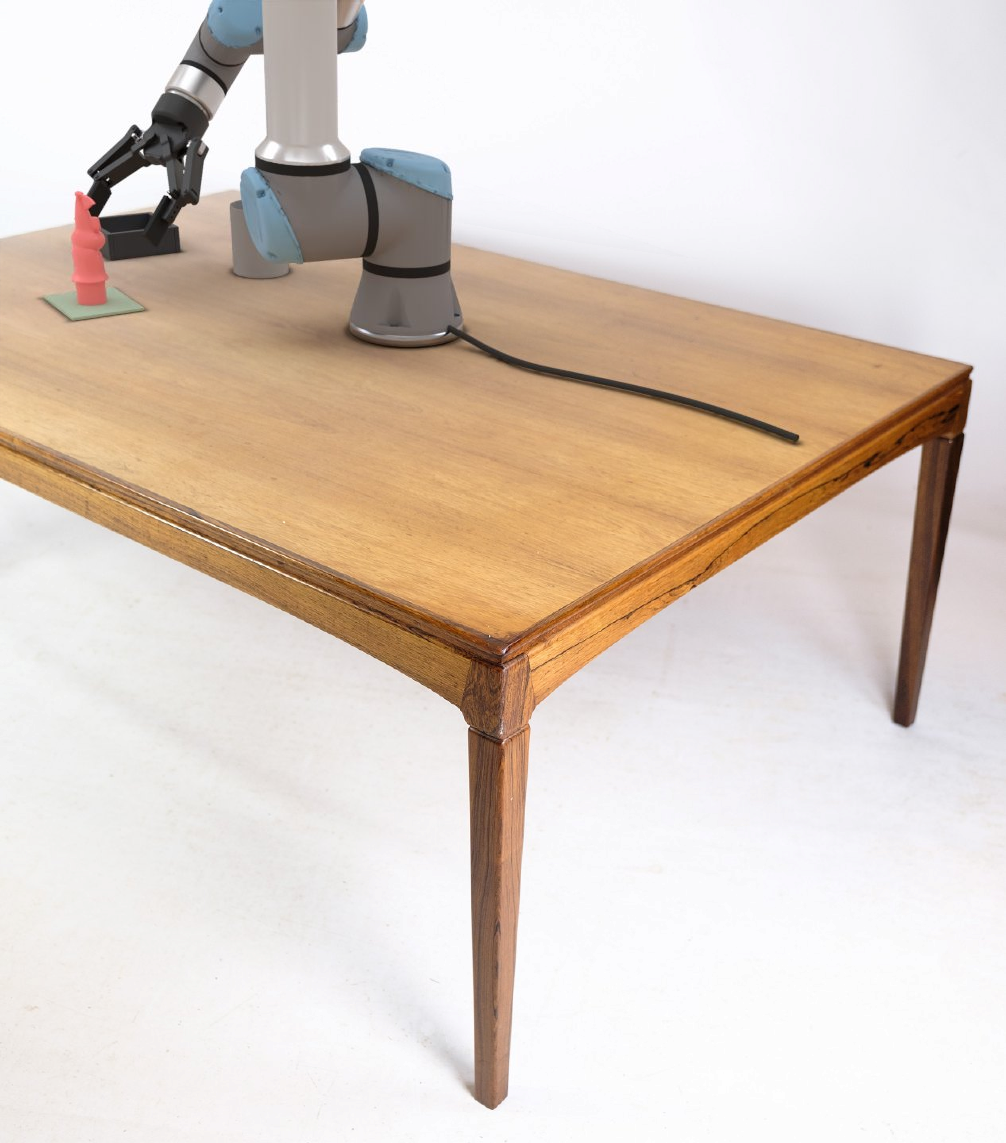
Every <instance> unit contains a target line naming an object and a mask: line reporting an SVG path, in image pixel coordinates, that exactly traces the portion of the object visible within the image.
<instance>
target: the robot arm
mask: <svg viewBox="0 0 1006 1143" xmlns="http://www.w3.org/2000/svg"><path fill="white" fill-rule="evenodd" d="M368 31H369V21H368V14H367V8H366V6H365V0H212V1H211V2H210V4H209V6H208V8H207V13H206V15H205V16H204V20H203V21H202V22H201V24H200V26H199V28H198V30H197V32H196V33H195V35H194V37H193V40H192V41H191V43H190V44H189V46H188V49H187V50H186V52H185V53H184V55H183V58H182V59H181V61H180V63H179V64H178V66H177V67H176V69H175V70H174V72H173V74H172V75H171V77H170V78H169V80H168V82H167V83H166V85H165V87H164V92H163V93H161V95H160V97H158V99H157V101H156V103H155V105H154V107H153V108H152V110H151V112H150V117H151V125H150V126H149V127H148V128H147V129H146V130H144V129H141V128H140V127H139V126H138V125H137V124H132V125H131V126H130V127H129V129H128V130H127V131H126V133H125V135H124V136H122V138H120V139H119V140H118V141H117V142H116V143H115V144H114V145H113V146H112V147H110V149H109V150H107V152H105V153H104V154H103V155H102V156H101V157H100V158H99V159H98V160H97V161H95V162H94V163H93V164H92V166H90V167H89V168H88V169H87V171H86V174H87V175H88V176H89V177H90V178H91V179H92V180H93V182H92V185H91V186H90V188H89V190H88V192H87V193H86V194H85V195H86V196H88V197H90V198H91V199H92V200H93V201H94V202H95V203H96V204H94V205H92V206H91V207H90V208H89V209H88V210H89V212H90V215H91V217H100V215H101V213H102V211H103V210H104V208H105V206H106V205H107V203H108V202H109V199H110V198H111V196H112V194H113V192H112V188H113V187H115V186H117V185H119V183H121V182H122V181H124V180H126V179H127V178H128V177H130V176H131V175H133V174H134V173H136V172H138V171H139V170H140V169H142V168H149V167H150V166H162V167H163V168H166V175H167V176H166V177H167V184H168V191H166V194H168V195H166V194H164V195H163V196H162V197H161V199H160V201H159V203H158V205H157V206H156V208H155V210H154V211H153V212H152V213H153V215H152V217H151V218H150V220H149V222H148V224H147V225H146V227H145V229H144V231H143V233H142V234H141V235H142V236H143V237H144V238H145V239H146V240H147V241H148V242H149V243H150V244H151V245H152V246H154V247H157V246H158V245H159V243H160V241H161V239H162V238H163V236H164V234H165V232H166V231H167V229H168V227H169V225H171V224H172V223H173V224H174V222H175V221H176V219H177V217H178V216H179V214H180V212H181V210H182V208H184V207H187V205H192V206H197V205H198V203H199V202H200V199H201V198H200V196H201V189H202V182H203V172H204V165H205V159H206V157H207V155H208V153H209V152H210V148H209V146H208V145H207V144H206V143H205V142H204V140H202V139H203V138H204V136H205V134H206V132H207V130H208V128H209V127H210V122H211V121H213V119H214V117H215V116H216V114H217V112H218V110H219V108H220V107H221V105H222V104H223V101H224V99H225V98H226V96H227V94H228V92H229V91H230V89H231V87H232V86H233V84H234V82H235V81H236V79H237V77H238V76H239V74H240V72H241V71H242V69H243V68H244V66H245V64H246V63H247V61H248V60H249V58H250V56H257V55H259V56H260V55H261V56H263V68H264V97H265V99H264V101H265V125H266V126H265V127H266V128H265V129H266V136H265V137H264V139H263V140H262V141H261V142H260V143H259V144H258V145H257V147H256V148H255V149H254V166H248V167H247V168H245V169H243V170H242V171H241V174H240V182H239V192H240V200H241V201H242V206H243V211H244V216H245V219H246V223H247V226H248V230H249V232H250V235H251V238H252V240H253V243H254V245H255V247H256V248H257V250H258V252H259V253H260V255H261V256H262V257H263V258H264V259H265V260H267V261H268V262H271V263H274V264H285V263H288V264H296V265H303V264H304V263H305V264H306V263H314V262H315V263H317V262H328V261H340V260H349V259H360V258H362V259H361V260H362V271H361V272H362V273H361V277H360V280H359V283H358V288H357V290H356V292H355V296H354V300H353V303H352V306H351V309H350V313H349V331H350V333H351V334H352V335H353V336H355V337H356V338H358V339H360V340H362V341H365V342H367V343H372V344H375V345H381V346H388V347H401V348H403V347H404V348H415V347H416V348H417V347H429V346H436V345H443V344H445V343H448V342H451V341H454V340H456V339H458V338H460V339H462V340H464V341H465V342H466V343H469V344H471V345H472V346H474V347H476V348H478V349H479V350H481V351H483V352H485V353H486V354H490V355H491V356H493V357H495V358H498V359H500V360H501V361H504V362H507V363H510V364H512V365H515V366H519V367H521V368H525V369H527V370H531V371H536V372H539V373H543V374H548V375H554V376H558V377H562V378H569V379H573V380H578V381H581V382H587V383H592V384H596V385H602V386H606V387H611V388H615V389H619V390H625V391H628V392H629V391H630V392H633V393H638V394H642V395H647V396H651V397H655V398H658V399H663V400H668V401H671V402H676V403H679V404H682V405H686V406H690V407H692V408H697V409H700V410H704V411H706V412H709V413H713V414H716V415H719V416H721V417H726V418H728V419H732V420H735V421H737V422H740V423H742V424H746V425H749V426H751V427H754V428H757V429H760V430H763V431H766V432H769V433H771V434H774V435H776V436H779V437H782V438H783V439H786V440H789V441H792V442H795V443H797V442H799V440H800V434H797V433H796V432H795V433H794V432H792V431H789V430H786V429H784V428H781V427H778V426H776V425H773V424H771V423H769V422H768V423H767V422H766V421H762V420H759V419H756V418H754V417H750V416H748V415H745V414H742V413H738V412H736V411H733V410H730V409H727V408H723V407H720V406H718V405H714V404H711V403H707V402H703V401H701V400H696V399H694V398H690V397H686V396H682V395H679V394H675V393H672V392H667V391H663V390H660V389H659V390H658V389H655V388H651V387H646V386H641V385H637V384H634V383H633V384H632V383H629V382H624V381H620V380H616V379H615V380H614V379H610V378H605V377H600V376H595V375H591V374H586V373H581V372H577V371H572V370H565V369H561V368H556V367H552V366H547V365H542V364H538V363H535V362H530V361H527V360H524V359H521V358H518V357H515V356H512V355H509V354H507V353H505V352H503V351H500V350H498V349H496V348H494V347H491V346H490V345H488V344H485V343H484V342H482V341H480V340H479V339H477V338H475V337H473V336H472V335H470V334H468V333H466V332H464V316H463V311H462V308H461V305H460V301H459V298H458V295H457V292H456V288H455V285H454V282H453V278H452V274H451V273H452V272H451V267H452V266H451V264H452V262H451V261H452V260H451V258H452V225H453V224H452V219H453V201H454V195H453V183H452V171H451V169H450V166H449V165H448V164H447V163H446V162H445V161H444V160H442V159H440V158H438V157H435V156H433V155H429V154H425V153H420V152H417V151H410V150H404V149H399V148H398V149H397V148H387V147H368V148H367V147H366V148H364V149H362V150H361V151H360V155H359V156H358V159H359V162H352V161H351V160H352V159H351V158H352V156H351V150H349V149H348V147H346V145H345V144H344V143H343V142H342V141H341V139H340V138H339V104H338V103H339V100H338V98H339V97H338V96H339V95H338V94H339V92H338V89H339V88H338V86H339V85H338V56H339V55H341V54H348V53H349V54H350V53H357V52H359V51H361V50H362V49H363V47H364V46H365V44H366V42H367V34H368ZM141 151H142V152H141ZM184 158H185V160H184ZM74 220H75V217H74Z"/></svg>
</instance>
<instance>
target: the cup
mask: <svg viewBox="0 0 1006 1143" xmlns="http://www.w3.org/2000/svg"><path fill="white" fill-rule="evenodd" d="M229 217H230V218H229V219H230V220H229V222H230V234H231V253H232V268H233V274H235V275H237V276H239V277H243V278H244V277H245V278H249V279H271V278H272V279H273V278H278V277H283V276H285V275H287V274H289V271H290V269H289V266H290V265H289V263H285V264H274V263H271V262H268V261H267V260H265V259H264V258H263V257H262V256H261V255H260V253H259V252H258V250H257V248H256V247H255V245H254V243H253V240H252V238H251V235H250V232H249V230H248V226H247V223H246V219H245V216H244V211H243V206H242V201H241V199H237V200H234V201H232V202H230V203H229Z"/></svg>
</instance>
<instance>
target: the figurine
mask: <svg viewBox="0 0 1006 1143" xmlns="http://www.w3.org/2000/svg"><path fill="white" fill-rule="evenodd" d="M86 195H87V194H84V192H83V191H81V190H76V191H74V196H75V202H74V218H75V219H74V227H75V228H74V230H73V232H72V233H71V236H70V241H71V242H70V243H71V244H72V247H71V257H72V261H73V268H74V269H73V270H74V271H73V274H72V276H71V278H70V279H71V281H72V282H74V284H75V291H76V292H77V300H78V303H79V304H81V305H100V304H104V303H106V302H107V295H106V287H107V286H106V281H108V280H109V275H108V273H107V271H106V268H105V262H104V256H103V255H102V254H101V252H100V251H99V250H100V249H101V248H102V247H103V245H104V244H105V236H104V235H103V233H102V232H100V230H101V226H100V221H99V218H98V217H91V215H90V212H89V210H88V209H89V208H90V207H91V206H92V205H94V204H96V203H95V202H94V201H93V200H92V199H91V198H90V197H88V196H86Z"/></svg>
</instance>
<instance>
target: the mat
mask: <svg viewBox="0 0 1006 1143" xmlns="http://www.w3.org/2000/svg"><path fill="white" fill-rule="evenodd" d="M106 295H107V302H106V303H104V304H100V305H81V304H79V303H78V300H77V292H76V290H75V291H68V292H61V293H53V294H45V295H43V296H42V297H43V299H44V300H45V301H46V302H48V303H49V304H50V305H52V306H53V307H54V308H55V309H56V310H58V311H59V312H60V313H63V315H64V316H66V317H67V318H68V319H70V320H71V321H72V322H75V321H81V320H89V319H94V318H101V317H109V316H115V315H123V314H130V313H136V312H137V313H138V312H144V311H145V307H144V306H142V305H140V304H139V303H137V302H136V301H135V300H133V299H132V298H131V297H129V296H127V295H126V294H125V293H123V292H121V291H120V290H119V289H117V288H116V287H114V286H106Z"/></svg>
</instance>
